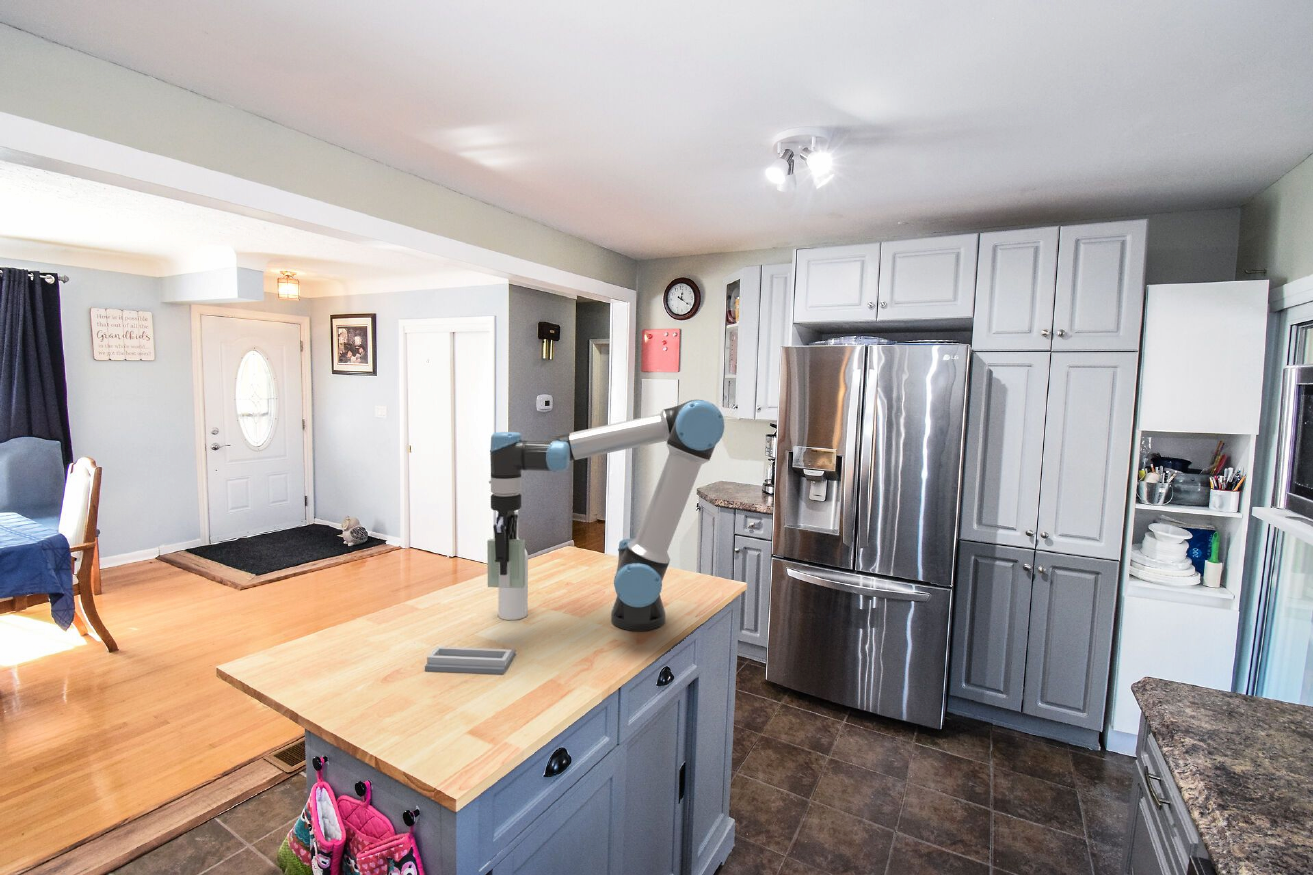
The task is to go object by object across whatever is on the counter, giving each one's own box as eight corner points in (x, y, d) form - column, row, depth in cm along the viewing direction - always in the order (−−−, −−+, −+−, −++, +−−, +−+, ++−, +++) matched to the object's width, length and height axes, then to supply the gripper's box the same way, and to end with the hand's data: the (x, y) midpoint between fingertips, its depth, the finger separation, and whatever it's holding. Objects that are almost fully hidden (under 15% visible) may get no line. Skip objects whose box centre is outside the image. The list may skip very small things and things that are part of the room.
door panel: (525, 585, 154) (525, 539, 153) (522, 588, 152) (522, 541, 150) (490, 584, 154) (490, 538, 153) (487, 587, 152) (487, 540, 151)
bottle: (506, 622, 164) (506, 514, 162) (493, 613, 170) (493, 509, 168) (532, 615, 169) (533, 511, 167) (519, 607, 175) (519, 506, 173)
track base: (515, 654, 145) (515, 643, 145) (503, 674, 135) (503, 662, 135) (442, 651, 146) (442, 640, 145) (424, 670, 136) (424, 659, 136)
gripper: (500, 487, 159) (501, 574, 161) (481, 498, 143) (481, 594, 145) (528, 488, 158) (528, 575, 160) (512, 499, 143) (512, 595, 145)
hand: (506, 584), depth 153 cm, fingers closed on door panel, 2 cm apart
